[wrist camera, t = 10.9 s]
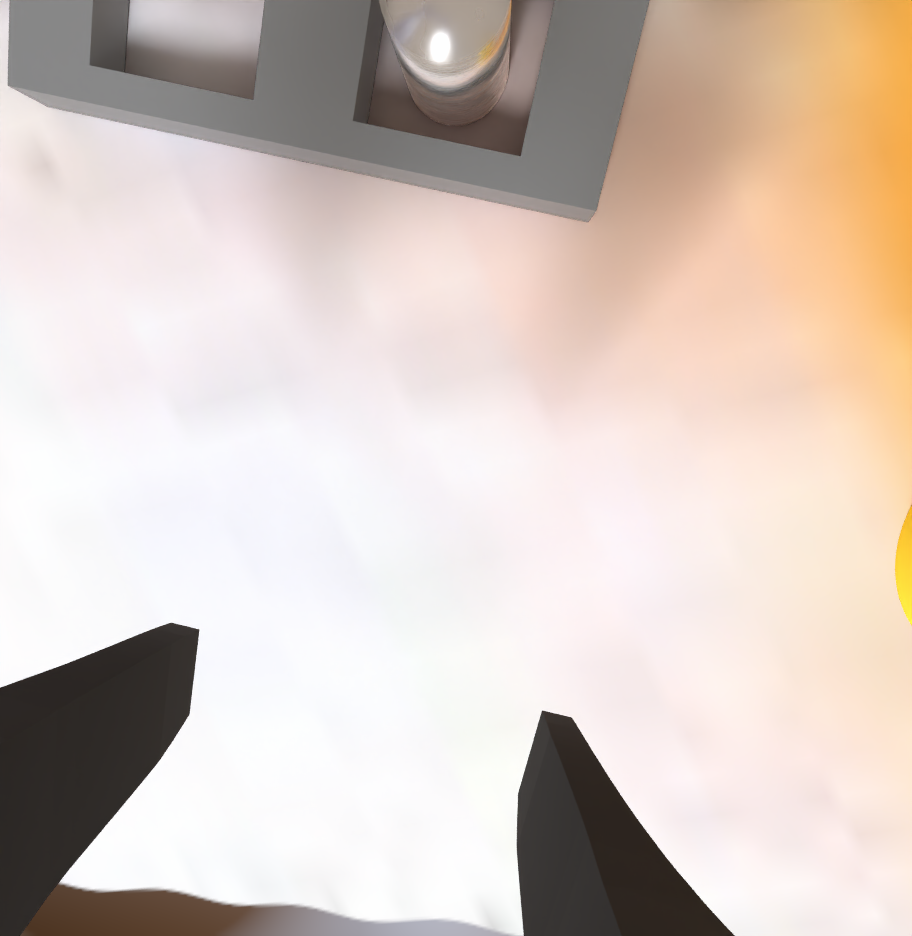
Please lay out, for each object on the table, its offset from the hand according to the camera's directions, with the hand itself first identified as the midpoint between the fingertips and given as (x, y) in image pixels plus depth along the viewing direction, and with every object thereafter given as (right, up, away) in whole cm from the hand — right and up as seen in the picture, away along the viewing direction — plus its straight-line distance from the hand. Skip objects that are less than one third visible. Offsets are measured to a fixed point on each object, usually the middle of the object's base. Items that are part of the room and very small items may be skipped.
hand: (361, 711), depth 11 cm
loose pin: (+2, +17, +6) cm, 18 cm away
